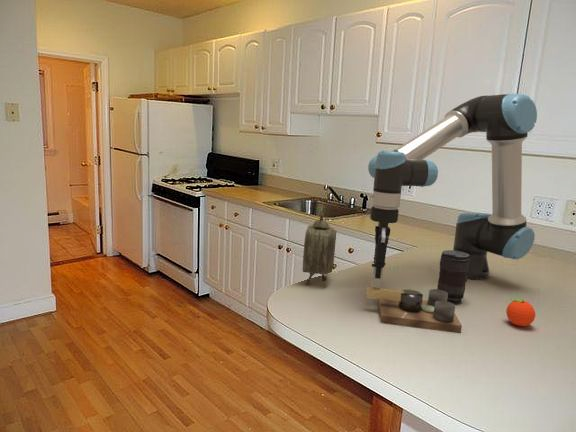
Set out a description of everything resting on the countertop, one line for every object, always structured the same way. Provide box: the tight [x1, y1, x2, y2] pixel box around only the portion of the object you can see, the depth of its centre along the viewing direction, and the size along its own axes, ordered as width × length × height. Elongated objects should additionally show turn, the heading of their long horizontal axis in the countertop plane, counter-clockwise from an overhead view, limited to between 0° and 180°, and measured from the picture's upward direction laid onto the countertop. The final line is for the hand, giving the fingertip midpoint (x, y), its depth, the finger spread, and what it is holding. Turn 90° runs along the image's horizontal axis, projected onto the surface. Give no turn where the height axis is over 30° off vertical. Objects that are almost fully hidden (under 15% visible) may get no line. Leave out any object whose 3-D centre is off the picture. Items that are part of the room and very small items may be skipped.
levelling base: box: [377, 288, 463, 334], centre depth 115 cm, size 20×15×6 cm
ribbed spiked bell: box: [302, 205, 337, 286], centre depth 137 cm, size 14×9×25 cm, turn 170°
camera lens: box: [436, 249, 469, 305], centre depth 128 cm, size 8×8×15 cm
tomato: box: [505, 298, 536, 327], centre depth 114 cm, size 8×7×7 cm
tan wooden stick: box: [365, 285, 424, 312], centre depth 116 cm, size 15×6×4 cm, turn 81°
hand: (376, 287), depth 121 cm, fingers closed
